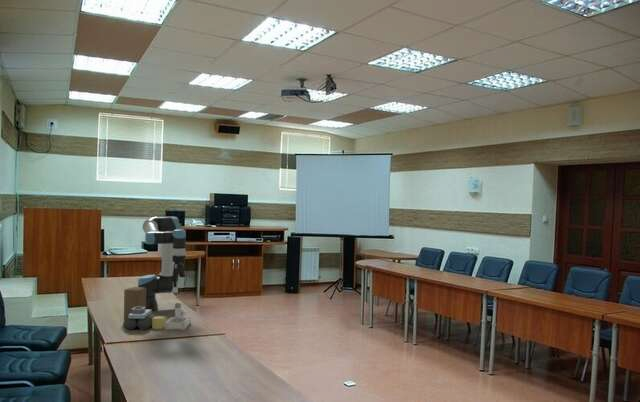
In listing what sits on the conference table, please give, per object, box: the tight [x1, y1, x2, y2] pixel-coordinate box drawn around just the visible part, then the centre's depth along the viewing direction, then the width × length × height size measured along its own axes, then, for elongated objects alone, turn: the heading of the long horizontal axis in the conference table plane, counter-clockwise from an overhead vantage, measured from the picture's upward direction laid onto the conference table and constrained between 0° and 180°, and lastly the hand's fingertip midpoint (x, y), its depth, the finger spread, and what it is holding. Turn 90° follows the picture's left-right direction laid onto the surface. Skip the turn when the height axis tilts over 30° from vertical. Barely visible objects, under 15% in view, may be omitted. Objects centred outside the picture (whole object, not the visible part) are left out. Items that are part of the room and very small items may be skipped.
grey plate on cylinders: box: [123, 307, 156, 331], centre depth 285 cm, size 14×15×12 cm
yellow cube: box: [151, 316, 166, 330], centre depth 285 cm, size 5×6×6 cm
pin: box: [174, 302, 182, 323], centre depth 288 cm, size 4×4×13 cm
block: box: [123, 286, 146, 322], centre depth 301 cm, size 10×10×20 cm
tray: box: [164, 316, 191, 331], centre depth 288 cm, size 15×12×4 cm
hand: (178, 290), depth 288 cm, fingers open, 13 cm apart
